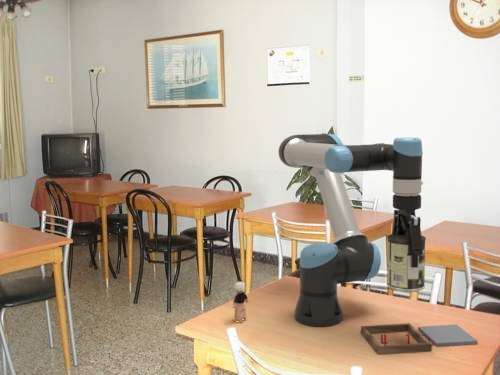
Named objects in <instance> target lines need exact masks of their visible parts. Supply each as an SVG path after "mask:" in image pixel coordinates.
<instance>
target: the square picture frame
mask: <svg viewBox="0 0 500 375" xmlns="http://www.w3.org/2000/svg"><path fill="white" fill-rule="evenodd" d="M398 332H399V333H403V332H404V333H405V332H408V334H410V335H411V336H412V337H413V338H414V339H415V340H416V341H417V342H418V343H405V344H390V345H388V344H386V345H380V343H379V341H377V340H376V338H375V337H374V336H373V335H372V334H386V333H398ZM360 334H361V335H362V336H363V337H364V339H365V340H366V341H367V342H368V344H369V345H370V346H371V348H372V349H373V350H374V352H376V354H377V355H391V354H393V355H395V354H406V353H408V354H409V353H411V354H412V353H422V352H423V353H425V352H432V351H433V346H432V345H433V343H432V342H431V341H430V340H428V339H427V338H426V337H425V336H424V335H423V334H422V333H421V332H420V331H419V330H418V329H416V328H415V327H414V326H413V325H412V324H411V323H410V322H409V323H395V324H394V323H393V324H392V323H391V324H377V325H373V324H372V325H362V326H360Z"/></svg>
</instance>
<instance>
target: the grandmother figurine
mask: <svg viewBox="0 0 500 375" xmlns="http://www.w3.org/2000/svg"><path fill="white" fill-rule="evenodd" d="M245 289H246V285H245V283H244V282H242V281H238V282H236V283H235V284H234V290H235V292H236V293H237V294H235V296H234V299H233V302H232V303H233V304H232V309H234V316H233V317H234V319H235V320H234V322H235V321H238V322H243V323H244V321H243V320H242V319H244V320H246V319H247V320H248V318H247V310H246V305H245V303H248V304H249V298H248V296H247V294H246V293H245V292H244V291H245ZM247 320H246V321H247Z"/></svg>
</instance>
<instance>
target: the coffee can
mask: <svg viewBox="0 0 500 375" xmlns="http://www.w3.org/2000/svg"><path fill="white" fill-rule="evenodd" d="M421 239H422V250H423V254H422V255H419V272H418V279H408V256H407V254H408V253H409V248H408V244H409V241H408V240H407V237H406V234H405V235H397V234H392V233H391V234H389V235H386V241H387V247H386V248H387V252H386V253H387V254H386V255H387V261H386V262H387V264H386V265H387V267H386V268H387V270H386V272H387V273H386V274H387V276H386V277H387V278H386V280H387V282H386V286H387V287H388V288H389V289H391V290H395V291H399V292H419V291H422V290H424V289H425V286H426V285H425V273H426V272H425V267H426V264H425V262H426V237H425V236H424V235H422V234H421Z"/></svg>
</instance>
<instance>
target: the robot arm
mask: <svg viewBox="0 0 500 375" xmlns="http://www.w3.org/2000/svg"><path fill="white" fill-rule="evenodd" d="M423 154H424V153H423V143H422V139H421V138H419V137H395V138H394V139H393V143H392V144H390V143H378V142H377V143H372V144H356V145H355V144H352V145H351V144H348V145H347V144H343V142H342V140H341V139H340V137H338V136H337V135H336V134H333V133H325V132H324V133H323V132H322V133H317V134H314V133H313V134H307V133H306V134H294V135H290V136H288V137H286V138H284V139H283V140H282V142H280V145H279V147H278V157H279V159H280V162H282V163H283V164H284V165H285V166H287V167H288V168H289V167H290V168H300V169H301V168H306V169H307V168H308V171H309V175H310V176H311V177H314V178H315V180H316V183H317V186H318V190H319V192H320V196H321V198H322V201H323V206H324V209H325V211H326V216H327V219H328V222H329V225H330V228H331V232H332V234H333V237H334V241H333V242H317V243H312V244H309V245H306V246H305V247H303V248H302V250H301V251H300V254H299V261H298V262H299V288H300V289H299V297H298V300H297V302H296V305H295V308H294V319H295V320H296V321H297V322H299V323H301V324H302V325H303V324H304V325H306V326H312V327H330V326H335V325H337V324H338V325H339V324H340V323H341V322H342V321H343V312H344V311H343V309H342V305H341V303H340V300H339V296H338V285H339V284H347V283H353V282H354V283H355V282H364V281H367V280H371V279H373V278H375V277H376V276H377V274H378V273H379V272H380V268H381V263H382V259H381V258H382V257H381V252H380V249H379V247H378V246H377V245H376V243H374V242H369V240H368V237H367V235H366V234H364V233H363V232H361V230H360V228H359V225H358V222H357V219H356V216H355V212H354V210H353V207H352V204H351V201H350V197H349V195H348V192H347V189H346V187H345V183H344V181H343V176H342V174H344V173H353V172H371V171H372V172H373V171H390V172H392V193H393V195H392V208H393V209H394V211H393V224H392V229H391V230H392V231H391V234H397V235H405V234H406V237H407V240H408V241H409V244H408V248H409V253H408V254H407V256H408V279H418V272H419V255H422V254H423V250H422V239H421V235H422V231H421V230H422V229H421V216H416V210H420V209H422V196H421V193H422V186H423V184H424V182H423V181H422V174H423V173H422V172H423V171H422V170H423V167H422V166H423Z"/></svg>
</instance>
